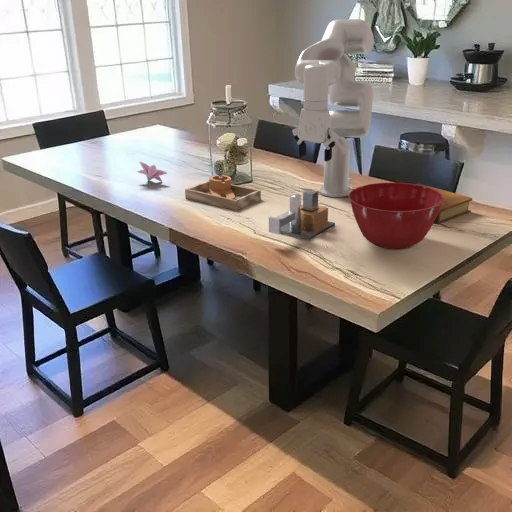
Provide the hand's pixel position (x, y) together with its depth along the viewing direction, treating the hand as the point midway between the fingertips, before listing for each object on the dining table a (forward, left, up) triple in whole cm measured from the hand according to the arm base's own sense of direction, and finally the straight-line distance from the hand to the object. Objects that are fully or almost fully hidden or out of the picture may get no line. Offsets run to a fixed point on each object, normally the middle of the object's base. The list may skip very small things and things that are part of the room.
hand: (315, 158), depth 204 cm
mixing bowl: (-1, +29, -23) cm, 37 cm away
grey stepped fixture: (+10, 0, -23) cm, 25 cm away
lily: (-2, -80, -23) cm, 84 cm away
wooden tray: (-4, -43, -23) cm, 49 cm away
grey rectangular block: (+2, 0, -22) cm, 22 cm away
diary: (-35, +26, -24) cm, 49 cm away
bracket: (-4, -44, -23) cm, 50 cm away
